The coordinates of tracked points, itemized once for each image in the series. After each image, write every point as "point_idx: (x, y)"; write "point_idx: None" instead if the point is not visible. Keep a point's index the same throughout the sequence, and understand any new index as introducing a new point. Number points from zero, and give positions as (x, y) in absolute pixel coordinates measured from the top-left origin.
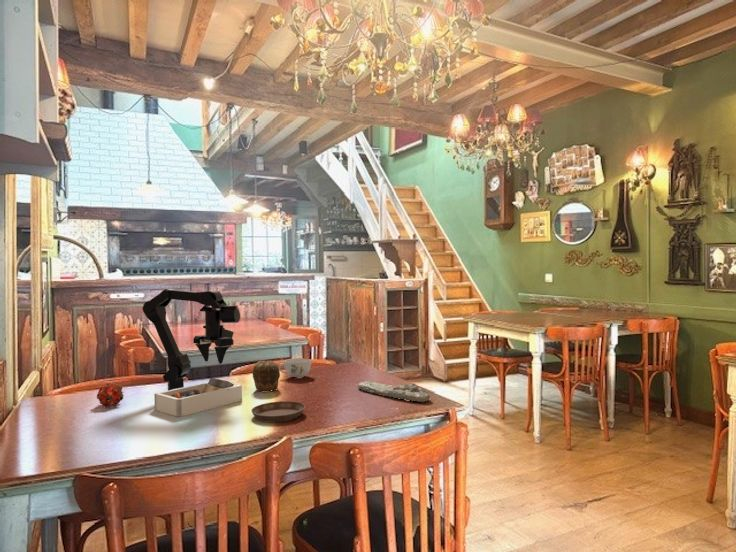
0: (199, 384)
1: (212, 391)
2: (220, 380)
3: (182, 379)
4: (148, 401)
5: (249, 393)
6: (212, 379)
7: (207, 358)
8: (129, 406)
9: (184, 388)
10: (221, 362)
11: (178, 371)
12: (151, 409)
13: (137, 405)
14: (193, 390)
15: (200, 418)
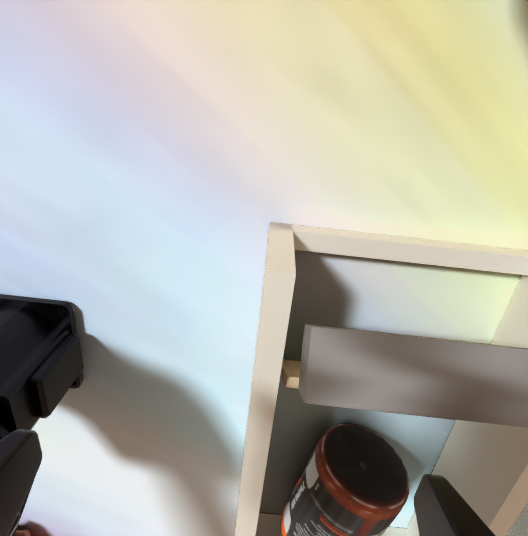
0: (262, 428)
1: (513, 507)
2: (463, 418)
3: (11, 404)
4: (71, 463)
5: (488, 46)
6: (341, 404)
7: (7, 481)
8: (95, 524)
9: (259, 508)
10: (451, 501)
11: (13, 532)
12: (217, 519)
13: (105, 508)
14: (372, 530)
15: (520, 521)
